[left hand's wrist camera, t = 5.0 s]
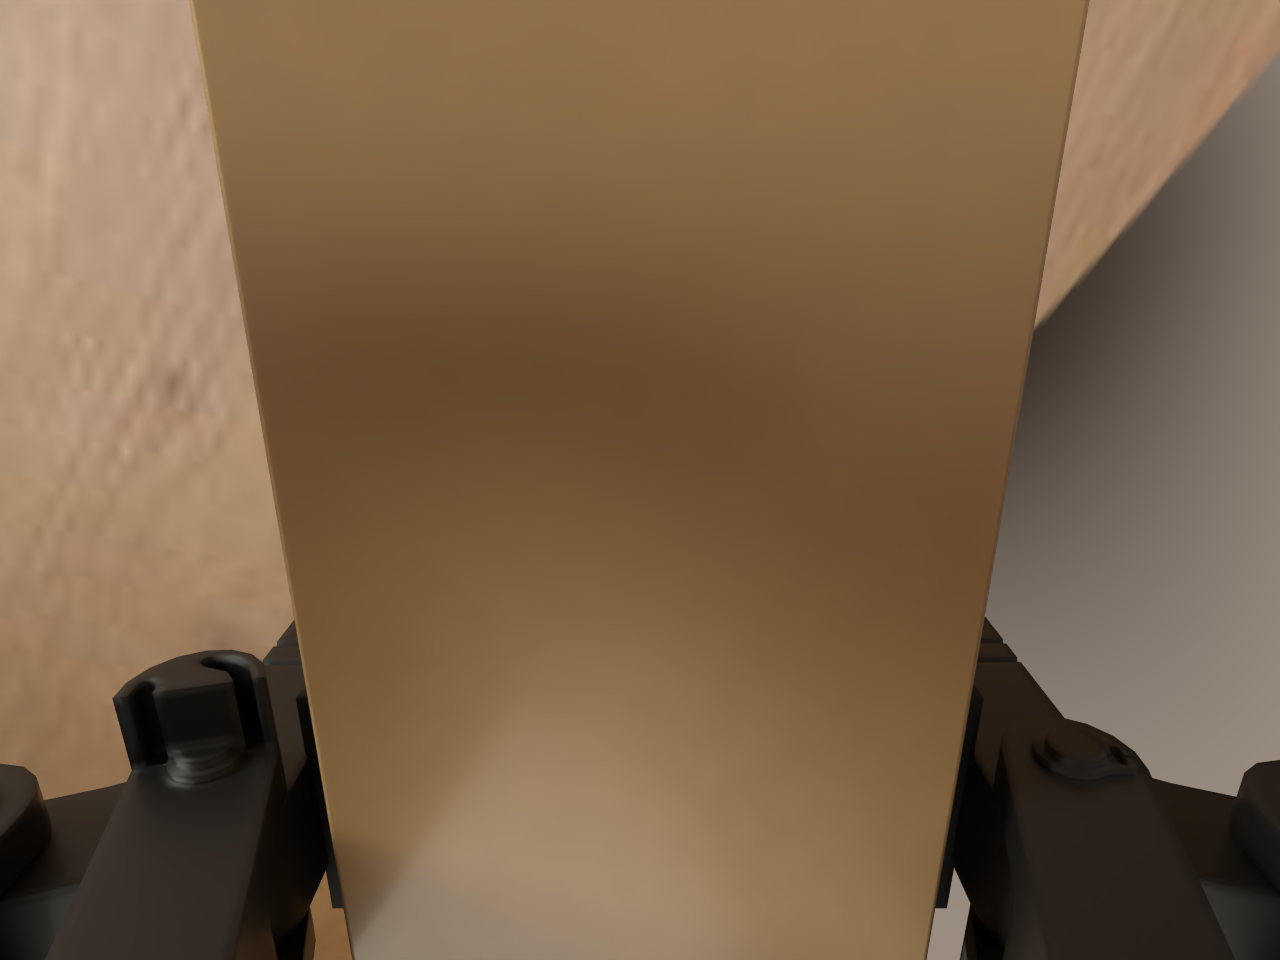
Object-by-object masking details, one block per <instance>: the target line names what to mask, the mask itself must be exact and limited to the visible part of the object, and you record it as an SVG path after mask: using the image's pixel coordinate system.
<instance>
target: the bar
mask: <svg viewBox="0 0 1280 960" xmlns="http://www.w3.org/2000/svg"><path fill="white" fill-rule="evenodd" d="M189 3H190V9H191V15H192V20H193V26H194V32H195V38H196V44H197V50H198V56H199V62H200V67H201V73H202V79H203V85H204V91H205V97H206V103H207V109H208V114H209V120H210V126H211V132H212V138H213V144H214V150H215V156H216V161H217V167H218V173H219V179H220V185H221V191H222V197H223V203H224V208H225V214H226V220H227V226H228V232H229V238H230V244H231V250H232V255H233V261H234V267H235V273H236V279H237V285H238V291H239V297H240V302H241V308H242V314H243V320H244V326H245V332H246V338H247V343H248V349H249V355H250V361H251V367H252V373H253V379H254V385H255V390H256V396H257V402H258V408H259V414H260V420H261V426H262V432H263V437H264V443H265V449H266V455H267V461H268V467H269V473H270V479H271V484H272V490H273V496H274V502H275V508H276V514H277V520H278V526H279V531H280V537H281V543H282V549H283V555H284V561H285V567H286V573H287V578H288V584H289V590H290V596H291V602H292V608H293V614H294V620H295V625H296V631H297V637H298V643H299V649H300V655H301V661H302V666H303V672H304V678H305V684H306V690H307V696H308V702H309V708H310V713H311V719H312V725H313V731H314V737H315V743H316V749H317V755H318V760H319V766H320V772H321V778H322V784H323V790H324V796H325V802H326V807H327V813H328V819H329V825H330V831H331V837H332V843H333V849H334V854H335V860H336V866H337V872H338V878H339V884H340V890H341V896H342V901H343V907H344V913H345V919H346V925H347V931H348V937H349V942H350V948H351V954H352V960H926V959H927V953H928V947H929V941H930V936H931V930H932V924H933V918H934V912H935V906H936V900H937V894H938V889H939V883H940V877H941V871H942V865H943V859H944V853H945V847H946V841H947V836H948V830H949V824H950V818H951V812H952V806H953V800H954V794H955V788H956V783H957V777H958V771H959V765H960V759H961V753H962V747H963V741H964V735H965V730H966V724H967V718H968V712H969V706H970V700H971V694H972V688H973V682H974V677H975V671H976V665H977V659H978V653H979V647H980V641H981V635H982V629H983V624H984V618H985V612H986V606H987V600H988V594H989V588H990V582H991V576H992V571H993V565H994V559H995V553H996V547H997V541H998V535H999V529H1000V523H1001V518H1002V512H1003V506H1004V500H1005V494H1006V488H1007V482H1008V476H1009V470H1010V465H1011V459H1012V453H1013V447H1014V441H1015V435H1016V429H1017V423H1018V417H1019V412H1020V406H1021V400H1022V394H1023V388H1024V382H1025V376H1026V370H1027V364H1028V359H1029V353H1030V347H1031V341H1032V335H1033V329H1034V323H1035V317H1036V311H1037V306H1038V300H1039V294H1040V288H1041V282H1042V276H1043V270H1044V264H1045V258H1046V253H1047V247H1048V241H1049V235H1050V229H1051V223H1052V217H1053V211H1054V205H1055V200H1056V194H1057V188H1058V182H1059V176H1060V170H1061V164H1062V158H1063V152H1064V147H1065V141H1066V135H1067V129H1068V123H1069V117H1070V111H1071V105H1072V99H1073V93H1074V88H1075V82H1076V76H1077V70H1078V64H1079V58H1080V52H1081V46H1082V40H1083V35H1084V29H1085V23H1086V17H1087V11H1088V5H1089V0H189Z"/></svg>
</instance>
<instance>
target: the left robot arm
mask: <svg viewBox="0 0 1280 960" xmlns="http://www.w3.org/2000/svg"><path fill="white" fill-rule="evenodd" d="M112 699H113V702H114V706H115V710H116V713H117V717H118V721H119V724H120V728H121V732H122V735H123V739H124V743H125V747H126V750H127V754H128V758H129V761H130V765H131V769H132V771H131V774H130V776H129V778H128V780H127V782H125V783H121V784H117V785H114V786H110V787H106V788H101V789H96V790H91V791H86V792H82V793H77V794H72V795H67V796H63V797H58V798H53V799H48V800H43V796H42V793H41V790H40V787H39V784H38V781H37V778H36V776H35V775H33V774H32V773H31V772H30V771H28V770H27V769H26V768H24V767H21V766H13V765H6V764H0V960H313V958H314V950H315V941H316V940H315V933H314V926H313V920H312V914H311V909H310V904H311V902H312V900H313V897H314V895H315V893H316V891H317V889H318V886H319V884H320V882H321V880H322V878H323V875H324V873H325V871H326V873H327V879H328V885H329V890H330V896H331V902H332V907H333V908H344V907H343V901H342V896H341V890H340V884H339V878H338V872H337V866H336V860H335V854H334V849H333V843H332V837H331V831H330V825H329V819H328V813H327V807H326V802H325V796H324V790H323V784H322V778H321V772H320V766H319V760H318V755H317V749H316V743H315V737H314V731H313V725H312V719H311V713H310V708H309V702H308V696H307V690H306V684H305V678H304V672H303V666H302V661H301V655H300V649H299V643H298V637H297V631H296V625H295V620H294V621H293V622H292V623H291V625H290V626H289V627H288V629H287V630H286V631H285V632H284V634H283V635H282V636H281V638H280V639H279V640H278V642H277V646H274V647H273V648H272V649H271V651H270V652H269V653H268V654H267V656H266V657H265V658H264V660H263V663H262V662H261V661H260V660H259V659H257V658H256V657H255V656H254V655H252V654H248V653H244V652H239V651H235V650H214V651H203V652H198V653H194V654H189V655H184V656H180V657H176V658H174V659H171V660H169V661H166V662H164V663H161V664H158V665H156V666H153V667H151V668H149V669H147V670H146V671H144V672H143V673H141V674H139V675H138V676H136V677H135V678H133V679H131V680H130V681H128V682H127V683H126V684H125V685H124V686H123V687H122V688H121V690H120V691H119V692H118V693H117V694H116V695H115V696H114V697H113V698H112ZM954 868H955V870H956V872H957V875H958V877H959V879H960V881H961V883H962V886H963V888H964V890H965V892H966V894H967V897H968V899H969V901H970V903H971V904H970V909H969V914H968V920H967V925H966V930H965V935H964V941H963V946H962V951H961V957H960V960H1280V760H1276V761H1269V762H1261V763H1256V764H1255V765H1254V766H1253V767H1251V768H1250V769H1249V770H1247V771H1246V772H1245V773H1244V776H1243V779H1242V782H1241V785H1240V788H1239V791H1238V794H1237V797H1235V796H1230V795H1225V794H1220V793H1215V792H1211V791H1206V790H1201V789H1196V788H1191V787H1187V786H1182V785H1177V784H1172V783H1168V782H1165V781H1161V780H1157V779H1154V778H1152V776H1151V774H1150V772H1149V770H1148V769H1147V767H1146V766H1145V764H1144V763H1143V762H1142V761H1141V759H1140V758H1139V757H1138V755H1137V754H1136V753H1135V752H1134V751H1133V750H1132V749H1130V748H1129V747H1128V746H1126V745H1125V744H1124V743H1122V742H1121V741H1119V740H1118V739H1117V738H1115V737H1114V736H1112V735H1110V734H1108V733H1106V732H1103V731H1101V730H1099V729H1097V728H1095V727H1092V726H1090V725H1088V724H1085V723H1081V722H1077V721H1073V720H1069V719H1065V718H1064V717H1063V716H1062V714H1061V713H1060V712H1059V710H1058V709H1057V708H1056V707H1055V705H1054V704H1053V703H1052V702H1051V700H1050V699H1049V698H1048V696H1047V695H1046V694H1045V693H1044V691H1043V690H1042V689H1041V687H1040V686H1039V685H1038V684H1037V682H1036V681H1035V680H1034V678H1033V677H1032V676H1031V675H1030V673H1029V672H1028V671H1027V670H1026V668H1025V667H1024V666H1023V664H1022V663H1021V662H1017V657H1016V655H1015V654H1014V653H1013V652H1012V650H1011V649H1010V648H1009V646H1008V645H1007V644H1003V639H1002V637H1001V636H1000V635H999V634H998V632H997V631H996V630H995V629H994V627H993V626H992V625H991V623H990V622H989V621H988V620H987V618H986V617H985V618H984V624H983V629H982V635H981V641H980V647H979V653H978V659H977V665H976V671H975V677H974V682H973V688H972V694H971V700H970V706H969V712H968V718H967V724H966V730H965V735H964V741H963V747H962V753H961V759H960V765H959V771H958V777H957V783H956V788H955V794H954V800H953V806H952V812H951V818H950V824H949V830H948V836H947V841H946V847H945V853H944V859H943V865H942V871H941V877H940V883H939V889H938V894H937V900H936V906H935V908H947V904H948V899H949V893H950V887H951V882H952V876H953V870H954Z"/></svg>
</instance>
